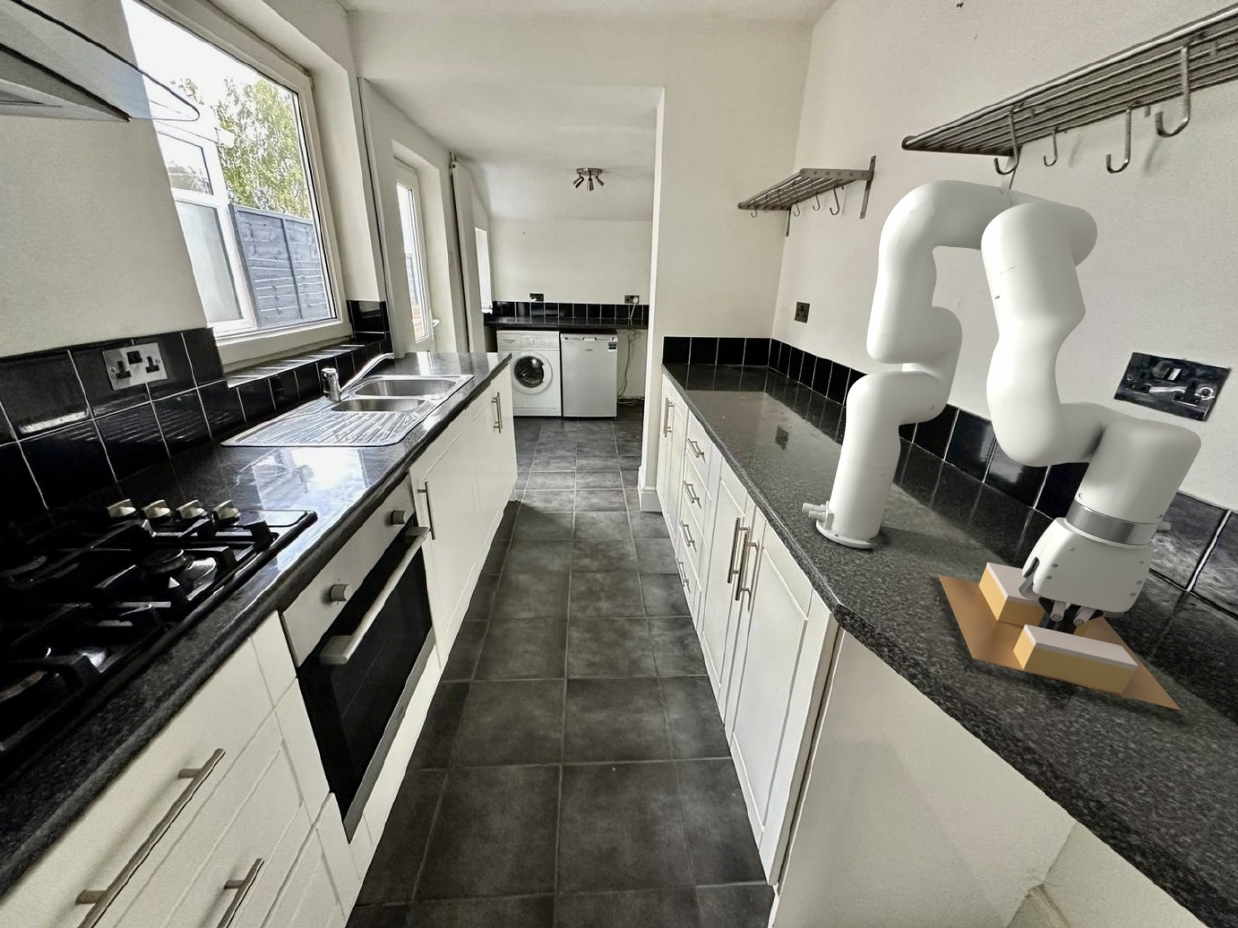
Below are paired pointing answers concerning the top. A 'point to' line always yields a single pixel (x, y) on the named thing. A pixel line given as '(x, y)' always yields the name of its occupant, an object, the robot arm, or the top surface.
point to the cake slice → (1075, 658)
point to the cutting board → (1001, 638)
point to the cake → (1013, 598)
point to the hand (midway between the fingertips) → (1050, 640)
